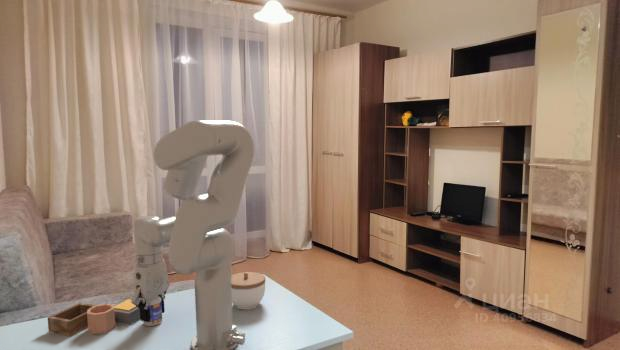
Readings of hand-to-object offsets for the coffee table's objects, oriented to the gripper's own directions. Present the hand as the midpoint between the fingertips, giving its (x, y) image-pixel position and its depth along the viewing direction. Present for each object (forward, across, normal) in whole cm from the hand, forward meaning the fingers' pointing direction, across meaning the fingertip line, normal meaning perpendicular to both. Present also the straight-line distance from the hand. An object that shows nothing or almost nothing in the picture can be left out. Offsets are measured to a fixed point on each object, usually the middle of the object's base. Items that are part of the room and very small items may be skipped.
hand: (152, 315), depth 125 cm
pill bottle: (+2, 0, 0) cm, 2 cm away
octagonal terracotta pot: (+2, -8, +12) cm, 14 cm away
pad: (-1, +1, +10) cm, 10 cm away
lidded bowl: (+2, +20, -21) cm, 29 cm away
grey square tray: (+2, +1, +10) cm, 10 cm away
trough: (+2, -9, +20) cm, 22 cm away
